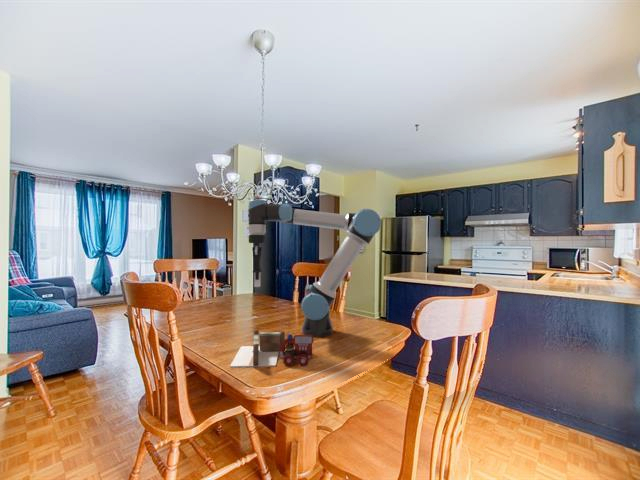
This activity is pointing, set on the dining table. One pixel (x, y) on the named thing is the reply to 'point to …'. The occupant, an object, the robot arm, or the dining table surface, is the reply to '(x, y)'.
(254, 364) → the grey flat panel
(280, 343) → the fence fixed section
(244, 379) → the dining table surface
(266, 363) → the card
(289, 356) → the toy fire truck
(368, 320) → the dining table surface
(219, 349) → the dining table surface
